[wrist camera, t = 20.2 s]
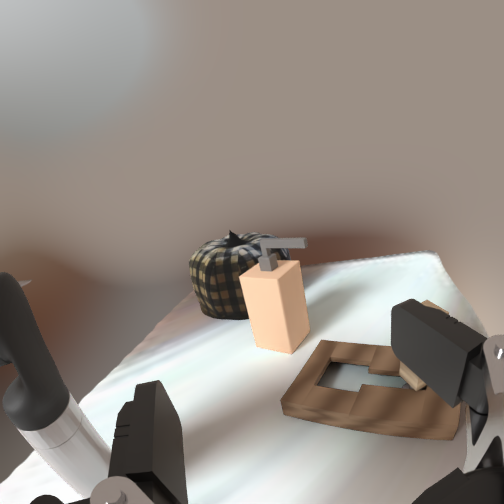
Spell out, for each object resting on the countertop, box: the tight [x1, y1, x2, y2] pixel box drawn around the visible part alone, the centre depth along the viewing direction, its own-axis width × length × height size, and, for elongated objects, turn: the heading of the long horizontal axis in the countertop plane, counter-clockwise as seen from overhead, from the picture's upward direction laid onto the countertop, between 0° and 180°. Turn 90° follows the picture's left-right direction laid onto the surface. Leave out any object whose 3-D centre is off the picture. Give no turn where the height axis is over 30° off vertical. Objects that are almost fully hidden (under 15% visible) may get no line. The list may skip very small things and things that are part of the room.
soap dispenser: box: [239, 238, 310, 354], centre depth 58 cm, size 13×9×22 cm
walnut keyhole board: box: [280, 340, 461, 440], centre depth 40 cm, size 26×16×4 cm, turn 57°
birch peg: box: [399, 300, 449, 391], centre depth 35 cm, size 5×5×16 cm
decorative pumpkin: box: [189, 231, 291, 320], centre depth 84 cm, size 30×29×20 cm
